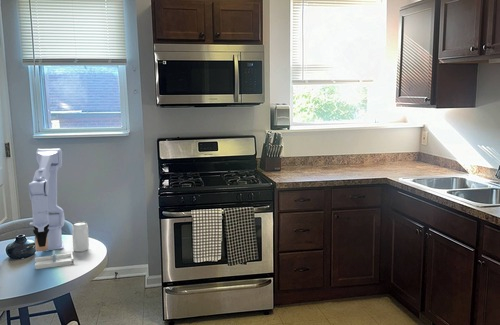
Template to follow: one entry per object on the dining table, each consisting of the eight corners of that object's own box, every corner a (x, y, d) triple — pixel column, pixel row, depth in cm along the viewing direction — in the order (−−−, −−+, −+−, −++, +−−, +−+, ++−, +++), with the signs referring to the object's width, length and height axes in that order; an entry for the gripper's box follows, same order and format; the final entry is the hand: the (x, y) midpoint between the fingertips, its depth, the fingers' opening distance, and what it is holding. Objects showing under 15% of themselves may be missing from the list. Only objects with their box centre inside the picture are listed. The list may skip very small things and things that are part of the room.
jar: (36, 248, 175) (35, 234, 174) (48, 247, 177) (47, 232, 176) (35, 252, 171) (34, 237, 170) (47, 250, 172) (46, 236, 171)
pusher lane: (35, 261, 177) (35, 256, 177) (72, 256, 183) (72, 251, 183) (35, 269, 169) (34, 264, 169) (73, 263, 175) (73, 258, 175)
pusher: (52, 258, 179) (52, 250, 178) (55, 258, 179) (55, 250, 179) (53, 264, 173) (52, 255, 173) (55, 263, 174) (55, 255, 173)
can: (70, 250, 190) (68, 224, 189) (81, 246, 196) (80, 220, 194) (80, 253, 187) (79, 226, 186) (92, 248, 193) (91, 222, 191)
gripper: (29, 207, 176) (31, 240, 178) (28, 216, 163) (30, 251, 165) (48, 206, 179) (50, 238, 181) (48, 214, 166) (51, 249, 168)
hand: (42, 244), depth 173 cm, fingers closed on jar, 4 cm apart
